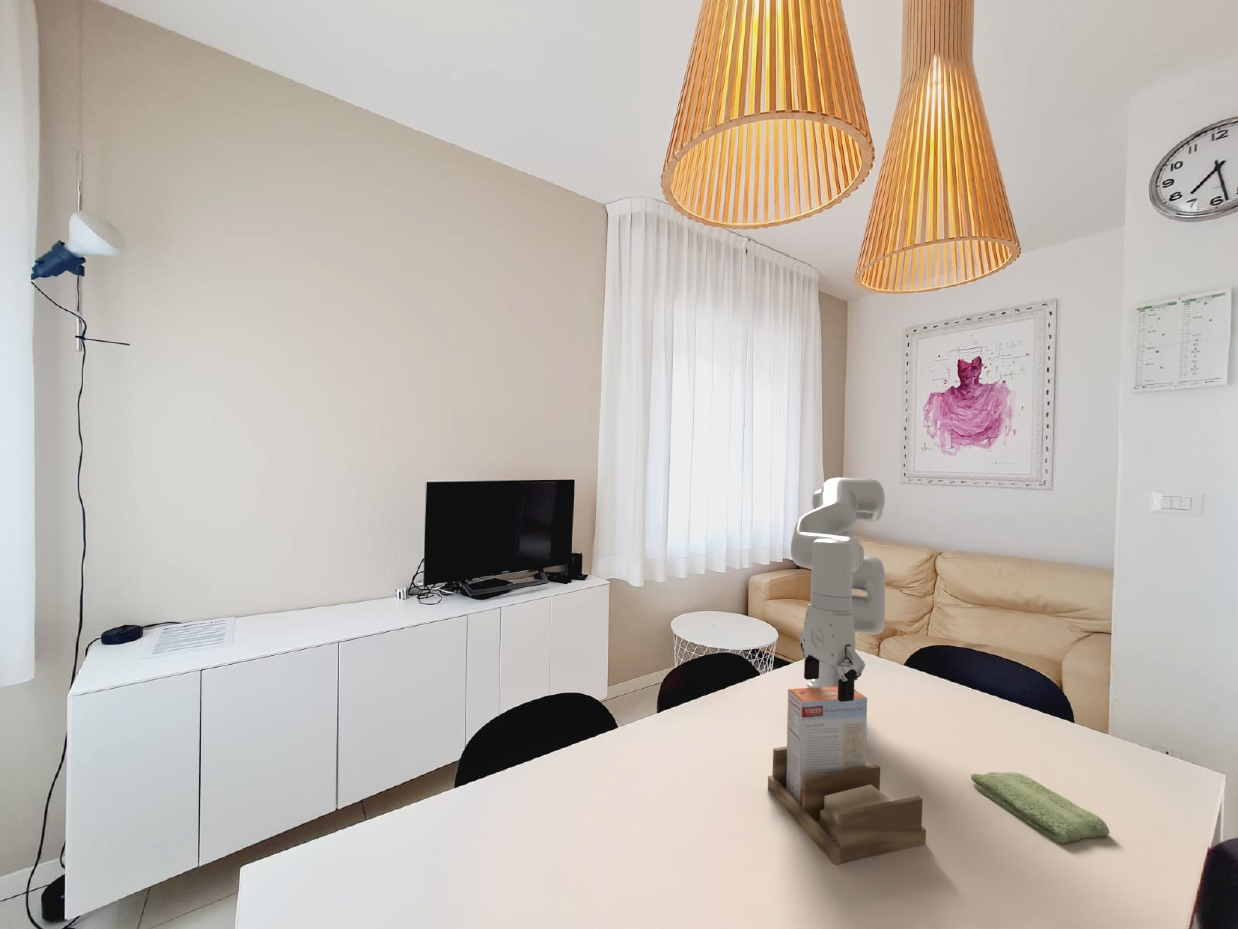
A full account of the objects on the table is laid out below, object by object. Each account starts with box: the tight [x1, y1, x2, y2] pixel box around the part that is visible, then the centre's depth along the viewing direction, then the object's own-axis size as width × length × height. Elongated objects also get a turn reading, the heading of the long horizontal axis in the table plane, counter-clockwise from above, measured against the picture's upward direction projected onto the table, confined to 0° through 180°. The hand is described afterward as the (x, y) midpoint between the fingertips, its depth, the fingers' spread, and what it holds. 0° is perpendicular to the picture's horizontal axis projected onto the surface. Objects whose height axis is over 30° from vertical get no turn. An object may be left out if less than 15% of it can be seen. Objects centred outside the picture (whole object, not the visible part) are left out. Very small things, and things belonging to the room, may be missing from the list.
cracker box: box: [785, 686, 868, 807], centre depth 95 cm, size 14×6×21 cm, turn 100°
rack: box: [767, 745, 927, 866], centre depth 91 cm, size 19×19×8 cm
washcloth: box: [970, 771, 1110, 844], centre depth 94 cm, size 13×18×3 cm
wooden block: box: [819, 784, 893, 844], centre depth 86 cm, size 6×12×6 cm, turn 105°
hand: (827, 689), depth 95 cm, fingers open, 9 cm apart
